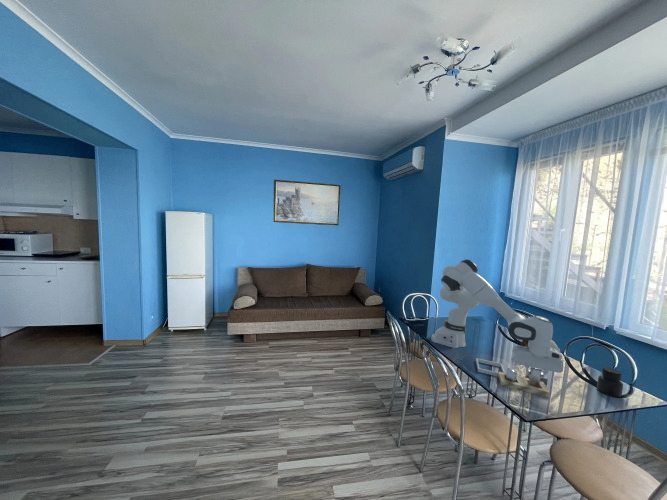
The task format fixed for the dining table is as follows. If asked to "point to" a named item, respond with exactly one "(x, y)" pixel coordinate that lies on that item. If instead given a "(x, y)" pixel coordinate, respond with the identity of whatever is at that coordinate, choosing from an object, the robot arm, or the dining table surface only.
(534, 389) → the frame
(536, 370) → the grey metal cylinder
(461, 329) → the robot arm
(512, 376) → the silver domed cylinder
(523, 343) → the condiment
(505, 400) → the dining table surface
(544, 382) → the button housing
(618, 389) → the ink bottle
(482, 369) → the white square tray
